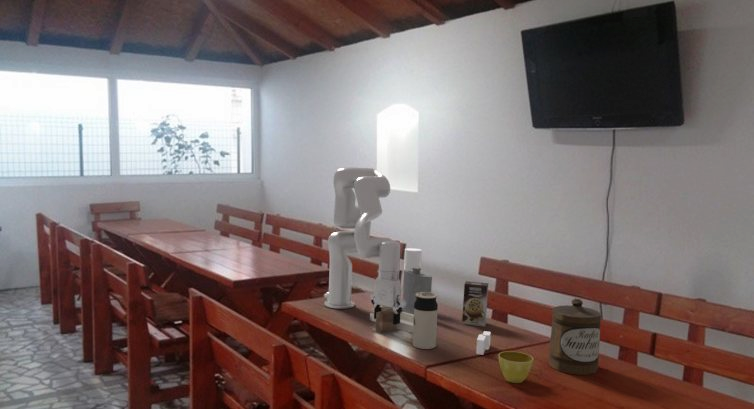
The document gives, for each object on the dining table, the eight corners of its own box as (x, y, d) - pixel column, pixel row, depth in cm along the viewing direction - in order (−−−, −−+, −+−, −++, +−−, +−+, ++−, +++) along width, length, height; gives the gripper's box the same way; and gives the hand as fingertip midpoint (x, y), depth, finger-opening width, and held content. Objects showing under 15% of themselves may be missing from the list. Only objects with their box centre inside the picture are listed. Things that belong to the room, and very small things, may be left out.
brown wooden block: (375, 331, 227) (376, 312, 226) (390, 327, 233) (391, 309, 232) (381, 333, 225) (382, 314, 224) (396, 329, 231) (397, 310, 230)
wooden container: (565, 376, 189) (570, 305, 187) (539, 360, 203) (544, 294, 201) (607, 373, 193) (612, 303, 191) (579, 358, 207) (583, 292, 205)
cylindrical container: (400, 308, 263) (403, 250, 261) (404, 304, 270) (407, 247, 268) (416, 310, 261) (419, 251, 259) (420, 306, 268) (423, 249, 266)
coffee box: (461, 324, 242) (463, 283, 241) (463, 320, 249) (465, 280, 247) (485, 326, 240) (487, 285, 239) (486, 322, 247) (488, 282, 245)
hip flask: (431, 320, 247) (433, 270, 246) (423, 321, 245) (426, 271, 243) (406, 310, 260) (408, 263, 258) (398, 312, 258) (400, 264, 256)
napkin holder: (481, 359, 203) (482, 342, 203) (457, 349, 212) (458, 333, 212) (512, 352, 212) (513, 335, 211) (488, 343, 221) (489, 327, 221)
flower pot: (526, 374, 189) (528, 351, 189) (536, 386, 179) (537, 362, 178) (493, 373, 189) (495, 350, 188) (501, 386, 179) (502, 361, 178)
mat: (371, 332, 227) (371, 331, 227) (389, 327, 234) (389, 326, 234) (382, 335, 223) (383, 334, 223) (401, 330, 230) (401, 329, 230)
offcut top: (379, 313, 243) (379, 306, 243) (389, 310, 248) (389, 304, 248) (385, 315, 241) (385, 308, 241) (395, 312, 245) (396, 306, 245)
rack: (369, 320, 242) (370, 313, 242) (390, 315, 251) (390, 308, 251) (412, 333, 227) (413, 325, 227) (433, 328, 236) (433, 320, 235)
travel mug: (437, 344, 216) (440, 293, 214) (433, 351, 208) (435, 298, 207) (415, 341, 218) (417, 290, 216) (410, 348, 210) (412, 295, 209)
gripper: (364, 272, 230) (362, 317, 232) (399, 280, 218) (397, 328, 220) (378, 269, 236) (376, 314, 237) (413, 277, 224) (411, 324, 225)
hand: (386, 320), depth 228 cm, fingers open, 9 cm apart
